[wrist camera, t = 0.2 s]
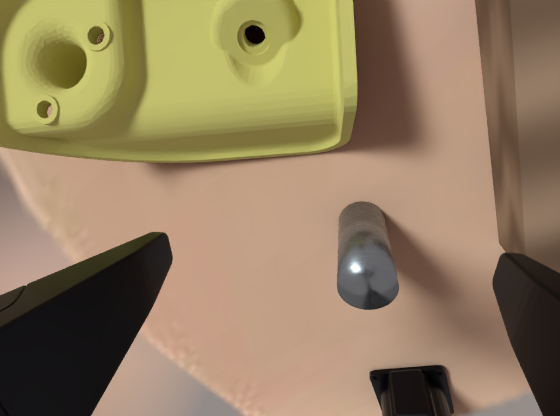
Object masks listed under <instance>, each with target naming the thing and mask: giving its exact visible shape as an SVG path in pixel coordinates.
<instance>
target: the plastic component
mask: <svg viewBox="0 0 560 416" xmlns="http://www.w3.org/2000/svg"><path fill="white" fill-rule="evenodd" d="M251 25H256V26H259V27H260V28H262V30H263V31H264V33H265V39H264V41H263V42H261V43H259V44H253V43H251V42H250V41H248V40H247V39H246V35H245V29H246V28H247V27H249V26H251ZM103 32H104V35H105V36H104V39H103V41H102V42H101V43H100V44H98V45H97V38H98V36H99V34H101V33H103ZM51 105H52V107H53V110H52V114H51V116H50V117H48V115H47V110H48V107H50V106H51ZM356 110H357V67H356V48H355V30H354V11H353V0H0V147H4V148H10V149H16V150H22V151H29V152H36V153H43V154H50V155H58V156H67V157H76V158H85V159H97V160H109V161H124V162H145V163H193V162H213V161H226V160H239V159H252V158H264V157H277V156H290V155H303V154H315V153H321V152H326V151H330V150H333V149H336V148H339V147H341V146H343V145H345V144H346V143H347V142H348V141H349V140H350V138H351V134H352V129H353V124H354V120H355V115H356Z"/></svg>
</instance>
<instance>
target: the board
mask: <svg viewBox="0 0 560 416" xmlns="http://www.w3.org/2000/svg"><path fill="white" fill-rule="evenodd" d="M475 4H476V14H477V24H478V34H479V44H480V54H481V64H482V74H483V84H484V94H485V104H486V114H487V124H488V134H489V144H490V155H491V165H492V175H493V185H494V195H495V205H496V215H497V225H498V235H499V243H500V245H501V246H502V247H503V249H504V250H505V252H506V253H521V254H524V255H526V256H528V257H530V258H532V259H534V260H536V261H538V262H539V263H541V264H543V265H545V266H547V267H549V268H551V269H553V270H555V271H557V272H559V273H560V0H475Z"/></svg>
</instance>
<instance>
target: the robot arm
mask: <svg viewBox="0 0 560 416" xmlns="http://www.w3.org/2000/svg"><path fill="white" fill-rule="evenodd" d="M172 259H173V256H172V251H171V247H170V243H169V239H168V236H167V234H166V233H163V232H151V233H148V234H146V235H144V236H141V237H139V238H136V239H134V240H132V241H129V242H127V243H124V244H122V245H120V246H117V247H115V248H112V249H110V250H108V251H105V252H103V253H100V254H98V255H96V256H93V257H91V258H89V259H86V260H84V261H81V262H79V263H77V264H74V265H72V266H69V267H67V268H65V269H62V270H60V271H58V272H55V273H53V274H50V275H48V276H46V277H43V278H41V279H39V280H36V281H34V282H31V283H29V284H27V286H21V287H19V288H17V289H14V290H12V291H10V292H7V293H5V294H3V295H0V416H91V415H92V413H93V411H94V409H95V408H96V406H97V404H98V402H99V401H100V399H101V397H102V395H103V394H104V392H105V390H106V388H107V386H108V385H109V383H110V381H111V380H112V378H113V376H114V374H115V372H116V371H117V369H118V367H119V365H120V364H121V362H122V360H123V358H124V357H125V355H126V353H127V351H128V350H129V348H130V346H131V344H132V343H133V341H134V339H135V337H136V336H137V334H138V332H139V330H140V329H141V327H142V325H143V323H144V322H145V320H146V318H147V316H148V314H149V313H150V311H151V309H152V307H153V305H154V303H155V301H156V299H157V296H158V294H159V292H160V289H161V287H162V285H163V283H164V280H165V278H166V276H167V273H168V271H169V269H170V266H171V264H172ZM493 289H494V293H495V296H496V299H497V302H498V305H499V309H500V312H501V315H502V318H503V321H504V324H505V328H506V331H507V334H508V337H509V340H510V343H511V345H512V347H513V350H514V352H515V354H516V357H517V359H518V361H519V363H520V366H521V368H522V370H523V372H524V375H525V377H526V379H527V381H528V383H529V386H530V388H531V390H532V392H533V395H534V397H535V399H536V401H537V403H538V406H539V408H540V410H541V412H542V415H543V416H560V273H559V272H557V271H555V270H553V269H551V268H549V267H547V266H545V265H543V264H541V263H539V262H538V261H536V260H534V259H532V258H530V257H528V256H526V255H524V254H521V253H503V254H502V255H501V256H500V258H499V261H498V264H497V267H496V270H495V274H494V277H493ZM370 380H371V383H372V385H373V388H374V391H375V394H376V396H377V399H378V402H379V404H380V407H381V410H382V416H451V414H453V413H454V410H453V405H452V401H451V396H450V392H449V387H448V383H447V378H446V374H445V370H444V368H443V367H442V366H426V367H413V368H401V369H388V370H375V371H371V372H370Z"/></svg>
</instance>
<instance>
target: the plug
mask: <svg viewBox="0 0 560 416" xmlns="http://www.w3.org/2000/svg"><path fill="white" fill-rule="evenodd" d="M337 289H338V293H339V295H340V296H341V298H342V299H343V300H344V301H345V302H346V303H348V304H349V305H351V306H353V307H356V308H359V309H366V310H372V309H378V308H382V307H384V306H386V305H388V304H390V303H391V302H392V301H393V300H394V299H395V298H396V296H397V294H398V291H399V284H398V279H397V274H396V269H395V265H394V260H393V255H392V251H391V246H390V241H389V237H388V232H387V227H386V222H385V218H384V214H383V212H382V211H381V209H380V208H379V207H377V206H376V205H374V204H372V203H369V202H355V203H352V204H350V205H348V206H347V207H346V208H345V209H344V210H343V211H342V212H341V214H340V217H339V238H338V273H337Z"/></svg>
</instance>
